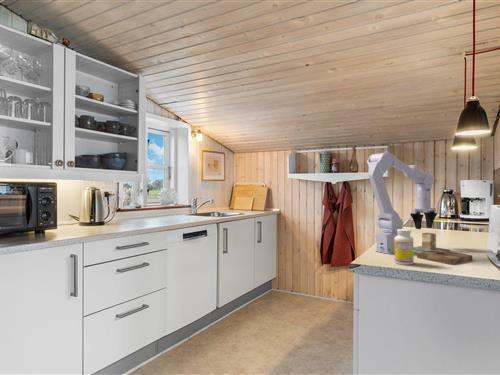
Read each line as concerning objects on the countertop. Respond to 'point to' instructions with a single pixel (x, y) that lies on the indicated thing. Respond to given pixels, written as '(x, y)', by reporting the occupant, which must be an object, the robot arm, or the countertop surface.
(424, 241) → the maple block
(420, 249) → the rubber mat
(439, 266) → the countertop surface
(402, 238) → the supplement bottle
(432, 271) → the countertop surface
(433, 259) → the pocket plate
